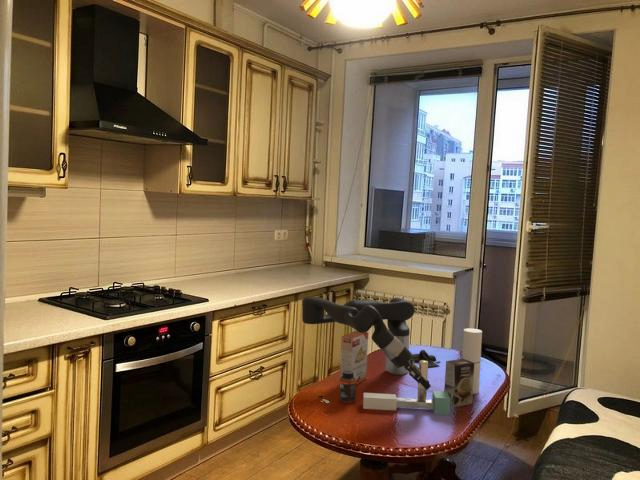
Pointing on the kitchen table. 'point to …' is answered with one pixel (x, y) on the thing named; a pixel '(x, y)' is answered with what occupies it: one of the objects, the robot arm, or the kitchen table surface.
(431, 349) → the kitchen table surface
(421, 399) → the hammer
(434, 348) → the kitchen table surface
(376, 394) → the sleeve
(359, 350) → the cracker box
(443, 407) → the socket
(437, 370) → the kitchen table surface
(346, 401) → the supplement bottle
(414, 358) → the cloth
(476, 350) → the cylindrical container
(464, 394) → the coffee box
